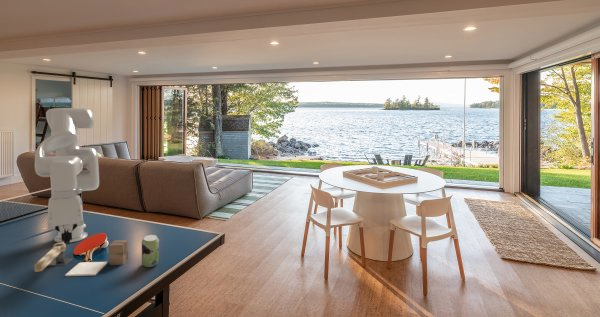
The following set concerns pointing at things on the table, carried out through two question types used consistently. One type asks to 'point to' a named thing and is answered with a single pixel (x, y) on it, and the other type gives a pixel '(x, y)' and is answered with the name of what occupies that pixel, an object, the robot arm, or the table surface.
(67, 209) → the robot arm
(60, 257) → the swing arm
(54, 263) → the pivot plate
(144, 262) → the beverage can
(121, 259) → the walnut block
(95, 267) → the tile
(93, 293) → the table surface
